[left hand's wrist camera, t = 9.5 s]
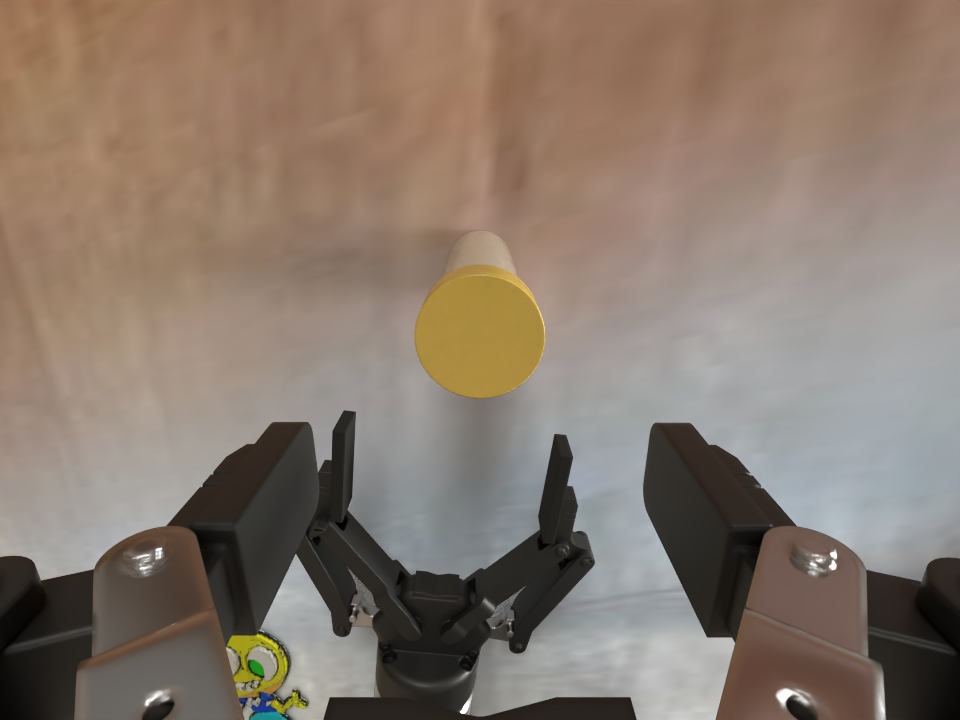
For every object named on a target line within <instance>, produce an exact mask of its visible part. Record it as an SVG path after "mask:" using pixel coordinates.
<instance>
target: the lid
mask: <svg viewBox="0 0 960 720" xmlns="http://www.w3.org/2000/svg"><path fill="white" fill-rule="evenodd" d="M415 345H416V350H417V354H418V357H419V359H420V362H421V364H422V365H423V367H424V369H425V370H426V372H427V373H428V374H429V375H430V377H431V378H432V379H433V380H434V381H435V382H437V383H438V384H439V385H441V386H442V387H443V388H445V389H447V390H449V391H450V392H453V393H455V394H458V395H461V396H465V397H471V398H490V397H495V396H499V395H502V394H505V393H507V392H509V391H511V390H513V389H515V388H516V387H518V386H519V385H521V384H522V383H523V382H524V381H526V380H527V379H528V377H529V376H530V375H531V374H532V373H533V371H534V370H535V369H536V367H537V365H538V363H539V361H540V359H541V356H542V354H543V350H544V345H545V328H544V323H543V319H542V316H541V313H540V311H539V308H538V306H537V303H536V301H535V299H534V297H533V295H532V293H531V291H530V290H529V289H528V287H527V286H526V285H525V284H524V283H523V282H522V281H521V280H520V279H519V278H518V277H517V276H515V275H514V274H512V273H511V272H509V271H507V270H505V269H502V268H499V267H496V266H492V265H485V264H475V265H468V266H464V267H460V268H458V269H455V270H453V271H451V272H449V273H447V274H446V275H445V276H443V277H442V278H441V279H440V280H439V281H437V282H436V283H435V285H434V286H433V287H432V288H431V290H430V291H429V293H428V295H427V296H426V298H425V301H424V303H423V306H422V308H421V310H420V313H419V315H418V318H417V322H416V327H415Z"/></svg>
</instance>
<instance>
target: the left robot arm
mask: <svg viewBox="0 0 960 720" xmlns="http://www.w3.org/2000/svg"><path fill="white" fill-rule="evenodd" d="M643 495H644V503H645V507H646V511H647V513H648V515H649V517H650V520H651V522H652V524H653V526H654V528H655V530H656V532H657V534H658V536H659V538H660V540H661V542H662V544H663V547H664V549H665V551H666V553H667V555H668V557H669V559H670V561H671V563H672V565H673V567H674V569H675V571H676V574H677V576H678V578H679V580H680V582H681V584H682V586H683V588H684V590H685V592H686V594H687V596H688V599H689V601H690V603H691V605H692V607H693V609H694V611H695V613H696V615H697V617H698V619H699V621H700V623H701V626H702V628H703V630H704V632H705V634H706V636H707V637H732V638H733V640H734V642H735V646H734V650H733V654H732V658H731V662H730V666H729V670H728V674H727V677H726V681H725V685H724V689H723V693H722V697H721V701H720V705H719V708H718V712H717V716H716V720H960V559H959V558H939V559H935V560H933V561H931V562H930V563H929V564H928V566H927V568H926V571H925V573H924V576H923V579H922V581H921V582H920V581H915V580H910V579H906V578H901V577H896V576H892V575H887V574H882V573H877V572H873V571H869V570H866V568H865V566H864V564H863V562H862V561H861V559H860V558H859V557H858V556H857V555H856V554H855V553H854V552H853V551H852V550H851V549H849V548H848V547H847V546H845V545H844V544H842V543H841V542H839V541H837V540H836V539H834V538H832V537H830V536H828V535H825V534H823V533H820V532H817V531H815V530H811V529H807V528H802V527H797V526H796V525H795V523H794V522H793V521H792V520H791V519H790V518H789V517H788V515H787V514H786V513H785V512H784V511H783V510H782V509H781V507H780V506H779V505H778V504H777V503H776V502H775V501H774V500H773V498H772V497H771V496H770V495H769V494H768V493H767V492H766V490H765V489H764V488H761V485H760V484H759V482H758V481H757V480H756V479H755V478H754V477H753V476H750V472H749V471H748V470H747V469H746V468H745V466H744V465H743V464H742V463H741V462H740V461H739V460H738V458H736V457H735V456H733V455H732V454H730V453H728V452H727V451H725V450H723V449H722V448H720V447H718V446H717V445H708V443H707V442H706V441H705V440H704V439H703V437H702V436H701V435H700V434H699V432H698V431H697V430H696V429H695V428H694V426H693V425H692V424H690V423H654V424H653V426H652V428H651V431H650V437H649V445H648V453H647V460H646V468H645V476H644V484H643ZM318 500H319V478H318V470H317V462H316V454H315V447H314V439H313V432H312V428H311V425H310V424H309V423H308V422H273V423H271V424H270V426H269V427H268V428H267V429H266V431H265V432H264V433H263V434H262V435H261V437H260V438H259V439H258V440H257V442H256V443H255V444H247V445H245V446H243V447H242V448H240V449H238V450H237V451H235V452H234V453H232V454H230V455H229V456H227V457H226V458H225V459H224V460H223V461H222V463H221V464H220V465H219V466H218V467H217V468H216V469H215V471H214V473H213V475H210V476H209V477H208V479H207V480H206V481H205V482H204V483H203V487H200V488H199V489H198V490H197V491H196V492H195V494H194V495H193V496H192V497H191V498H190V499H189V500H188V502H187V503H186V504H185V505H184V506H183V507H182V509H181V510H180V511H179V512H178V513H177V514H176V515H175V517H174V518H173V519H172V520H171V521H170V522H169V524H168V525H167V526H164V527H158V528H153V529H149V530H145V531H143V532H140V533H137V534H135V535H132V536H130V537H128V538H126V539H124V540H123V541H121V542H119V543H118V544H116V545H115V546H113V547H112V548H111V549H109V550H108V551H107V552H106V553H105V554H104V555H103V556H102V557H101V558H100V559H99V561H98V562H97V564H96V566H95V568H94V569H93V570H89V571H84V572H80V573H75V574H70V575H65V576H61V577H56V578H51V579H47V580H42V581H41V579H40V577H39V574H38V572H37V569H36V566H35V564H34V562H33V561H32V560H30V559H29V558H26V557H22V556H5V557H0V720H244V716H243V712H242V708H241V705H240V701H239V697H238V693H237V689H236V685H235V681H234V677H233V674H232V670H231V666H230V662H229V658H228V654H227V650H226V646H227V644H228V642H229V640H230V638H231V637H232V636H257V634H258V632H259V630H260V628H261V625H262V623H263V621H264V619H265V617H266V615H267V613H268V611H269V609H270V606H271V604H272V602H273V600H274V598H275V596H276V594H277V592H278V590H279V588H280V585H281V583H282V581H283V579H284V577H285V575H286V573H287V571H288V569H289V566H290V564H291V562H292V560H293V558H294V556H295V554H296V552H297V550H298V547H299V545H300V543H301V541H302V539H303V537H304V535H305V533H306V531H307V529H308V526H309V524H310V522H311V520H312V518H313V516H314V514H315V511H316V509H317V505H318ZM324 720H636V716H635V713H634V709H633V706H632V702H631V698H630V697H556V698H552V699H549V700H545V701H541V702H537V703H534V704H530V705H526V706H522V707H519V708H515V709H511V710H508V711H504V712H500V713H496V714H493V715H489V716H484V717H476V716H471V715H467V714H464V713H460V712H456V711H452V710H449V709H445V708H441V707H438V706H434V705H430V704H426V703H423V702H419V701H415V700H411V699H408V698H404V697H330V698H329V702H328V706H327V709H326V713H325V716H324Z"/></svg>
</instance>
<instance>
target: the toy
mask: <svg viewBox="0 0 960 720" xmlns="http://www.w3.org/2000/svg"><path fill="white" fill-rule="evenodd" d="M253 637H254V638H253ZM254 642H255V643H254ZM267 643H269V644H267ZM231 646H232V647H231ZM226 650H227V652H228V653H227V654H228V658H229V662H230V666H231V670H232V674H233V677H234V681H235V685H236V689H237V693H238V697H239V701H240V705H241V708H242V709H243V707H244V706H245V703H246V704H247V706H249V707H251V708H252V710H253V711H254V713H252V714H251V715H250V717H249V720H280V719H281V720H292V719H291V718H290V717H289V716H288V715H285V713H283V712H284V711H285V710H286V709H287V708H289V707H290V706H291V705H292V704H293V705H294V706H295V707H297V708H298V707H302V708H303V709H304V708H305V707H306V706H307V705H308V701H307V700H306V699H304V698H303V697H301V696H300V692H299V691H298V690H297V689H293V694H292V695H291V696H288V697H287V698H286V699H285V701H282V700H281V699H280V698H279V697H278V696H277V695H275V694H273V692H274V691H276V690H277V689H278V688H279V687H280V686H281V685H282V684H283V683H284V681H285V679H286V677H287V674H288V671H289V668H290V658H289V655H288V652H287V650H286V648H285V647H284V646H283V645H282V644H281V642H280V641H278V640H277V639H276V638H274V637H272V636H271V635H270V634H268V633H266V632H264V631H262V630H259V632H258V634H257V636H232V637H231V638H230V640H229V642H228V644H227V646H226ZM259 650H260V651H259ZM265 653H266V654H267V655H268V656H267V655H265ZM279 653H280V655H279ZM245 655H246V656H245ZM244 657H245V658H244ZM269 657H270V658H269ZM271 659H272V660H271ZM244 660H245V661H244ZM283 660H284V661H283ZM250 661H251V662H250ZM236 662H237V664H236ZM241 664H242V665H241ZM237 665H238V666H237ZM274 665H275V666H274ZM241 667H242V668H241ZM250 667H251V668H252V669H251V668H250ZM284 668H285V670H284ZM263 669H264V670H263ZM235 670H236V671H235ZM240 670H241V671H240ZM254 670H255V671H254ZM256 672H257V674H256ZM263 672H264V673H263ZM274 672H275V673H274ZM238 673H241V674H238ZM277 673H278V674H277ZM237 674H238V675H237ZM248 674H249V675H248ZM272 675H273V676H272ZM275 680H277V681H275ZM267 681H268V682H267ZM261 684H262V687H261ZM267 686H268V687H267ZM256 692H257V693H256ZM241 693H242V694H241ZM250 693H251V694H250ZM294 697H295V698H294ZM292 698H293V700H292ZM288 702H290V703H288ZM292 702H293V703H292ZM263 703H264V704H263ZM274 709H275V710H274ZM257 715H258V716H257ZM258 717H259V718H258Z"/></svg>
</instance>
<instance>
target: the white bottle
mask: <svg viewBox="0 0 960 720" xmlns="http://www.w3.org/2000/svg"><path fill="white" fill-rule="evenodd" d="M475 264H485V265H492V266H496V267H499V268H502V269H505V270H507V271H509V272H511V273H512V274H514V275H515V276H517V277H518V275H517V272H516V269H515V267H514V264H513V261H512V258H511V255H510V252H509V249H508V247H507V245H506V244H505V243H504V241H503V240H502V239H501V238H499V237H498V236H497V235H495V234H493V233H491V232H487V231H473V232H469V233H467V234H465V235H463V236H462V237H461V238H459V239H458V240H457V241H456V243H455V244H454V245H453V247H452V249H451V252H450V254H449V257H448V260H447V263H446V266H445V269H444V272H443V275H442V277H443V276H445V275H446V274H447V273H449V272H451V271H453V270H455V269H458V268H460V267H464V266H468V265H475Z"/></svg>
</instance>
